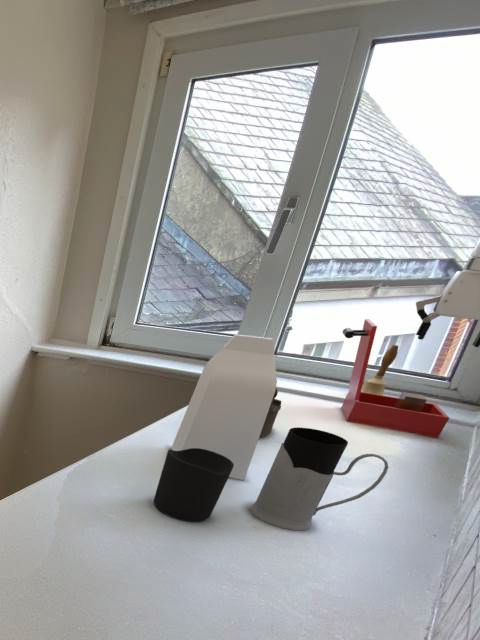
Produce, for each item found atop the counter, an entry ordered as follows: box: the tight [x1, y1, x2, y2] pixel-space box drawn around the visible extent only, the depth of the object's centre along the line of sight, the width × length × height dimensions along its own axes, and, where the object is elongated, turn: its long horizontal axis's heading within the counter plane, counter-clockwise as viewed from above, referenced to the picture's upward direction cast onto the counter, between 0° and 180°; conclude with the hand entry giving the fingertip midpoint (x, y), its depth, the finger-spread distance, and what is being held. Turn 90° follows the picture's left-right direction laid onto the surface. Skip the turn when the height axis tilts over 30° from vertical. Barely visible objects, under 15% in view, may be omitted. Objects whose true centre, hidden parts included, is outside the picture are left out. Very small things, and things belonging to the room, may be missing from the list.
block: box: [394, 391, 428, 412], centre depth 140 cm, size 4×5×7 cm
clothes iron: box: [259, 387, 282, 439], centre depth 129 cm, size 8×16×13 cm, turn 140°
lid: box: [342, 318, 378, 400], centre depth 143 cm, size 18×14×5 cm
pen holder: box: [153, 448, 234, 523], centre depth 92 cm, size 9×9×10 cm
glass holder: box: [249, 427, 389, 531], centre depth 89 cm, size 9×14×15 cm, turn 60°
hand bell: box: [361, 344, 399, 396], centre depth 159 cm, size 8×8×16 cm
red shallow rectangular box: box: [340, 389, 450, 439], centre depth 142 cm, size 18×14×5 cm
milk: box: [171, 333, 278, 481], centre depth 108 cm, size 12×12×26 cm
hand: (447, 342), depth 132 cm, fingers open, 9 cm apart
